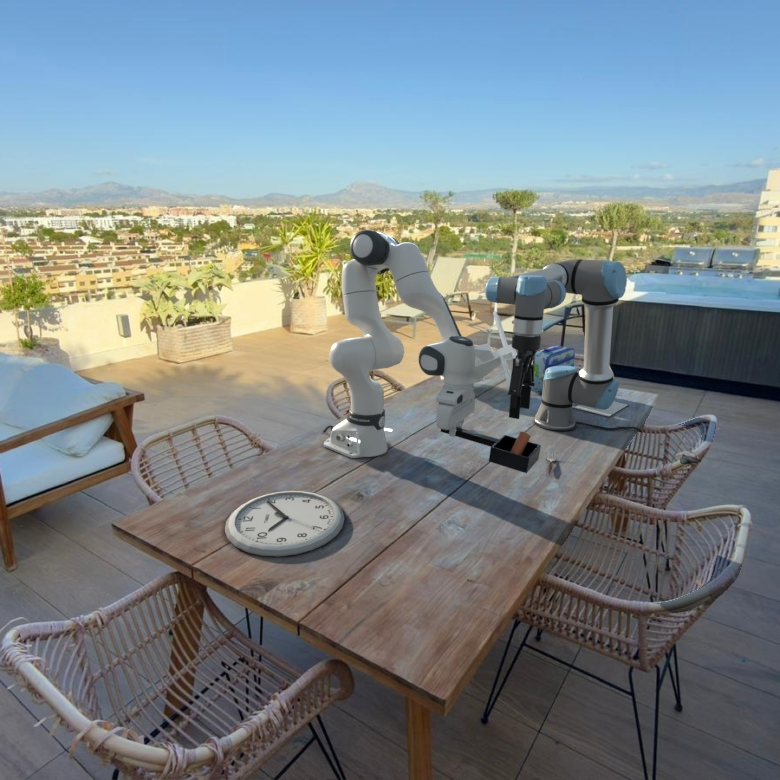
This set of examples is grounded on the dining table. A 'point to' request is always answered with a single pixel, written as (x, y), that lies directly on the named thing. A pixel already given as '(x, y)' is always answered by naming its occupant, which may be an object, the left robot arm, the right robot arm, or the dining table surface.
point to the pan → (503, 450)
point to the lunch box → (550, 363)
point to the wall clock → (284, 523)
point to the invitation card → (608, 412)
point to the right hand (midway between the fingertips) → (519, 412)
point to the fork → (551, 460)
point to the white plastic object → (492, 356)
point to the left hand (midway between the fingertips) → (455, 434)
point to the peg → (520, 443)
